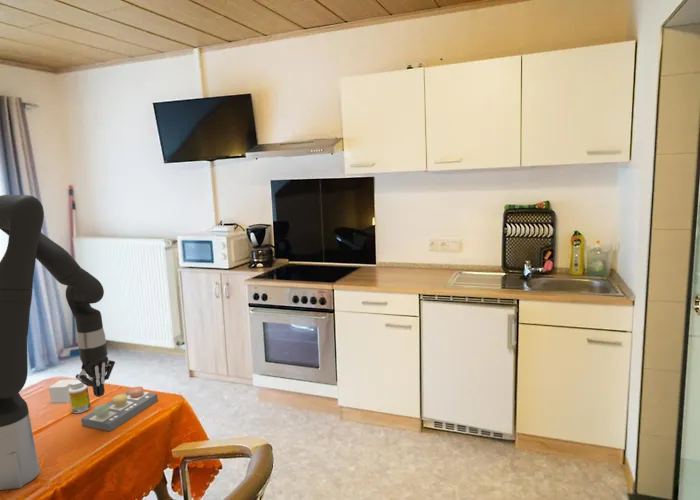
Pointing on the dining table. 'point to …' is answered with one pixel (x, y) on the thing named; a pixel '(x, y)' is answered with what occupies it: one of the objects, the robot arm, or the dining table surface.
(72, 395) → the supplement bottle
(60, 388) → the off-white cube
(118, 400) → the ochre button
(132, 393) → the terracotta button
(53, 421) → the dining table surface
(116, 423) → the button panel
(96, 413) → the sage button
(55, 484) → the dining table surface
